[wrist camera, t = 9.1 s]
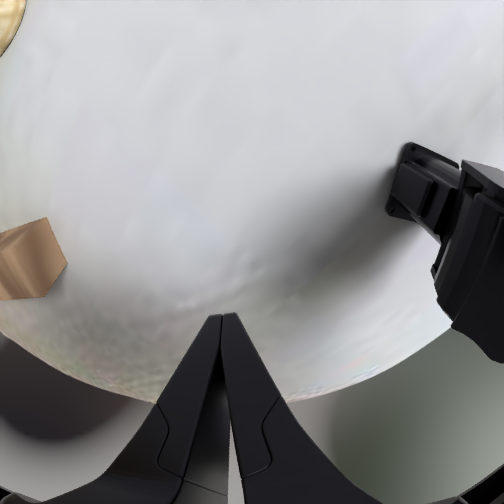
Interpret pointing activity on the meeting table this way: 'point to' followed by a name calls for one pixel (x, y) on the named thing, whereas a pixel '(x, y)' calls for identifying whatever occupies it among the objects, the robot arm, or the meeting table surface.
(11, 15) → the hand bell
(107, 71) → the meeting table surface
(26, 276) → the wooden block
